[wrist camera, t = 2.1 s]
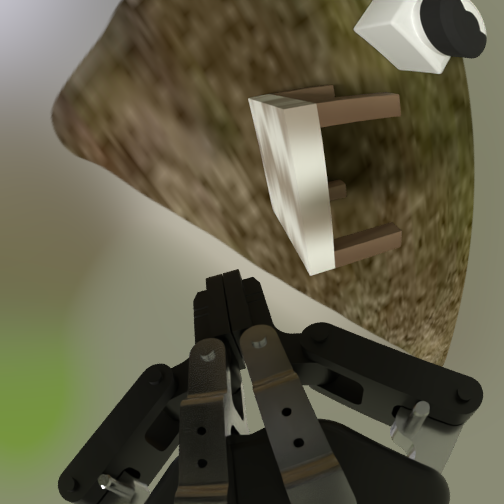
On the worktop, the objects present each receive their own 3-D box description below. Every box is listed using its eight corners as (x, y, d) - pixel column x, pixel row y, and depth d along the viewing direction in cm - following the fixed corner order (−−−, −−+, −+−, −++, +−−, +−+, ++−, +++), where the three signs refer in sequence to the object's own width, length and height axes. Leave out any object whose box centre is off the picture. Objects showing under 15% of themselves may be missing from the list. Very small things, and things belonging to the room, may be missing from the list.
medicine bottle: (398, 71, 26) (480, 82, 16) (351, 30, 23) (429, 17, 13) (423, 30, 23) (502, 32, 13) (379, -11, 20) (455, -30, 10)
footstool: (248, 98, 26) (283, 109, 16) (326, 84, 26) (398, 94, 16) (272, 209, 32) (310, 275, 22) (340, 191, 32) (400, 246, 22)
